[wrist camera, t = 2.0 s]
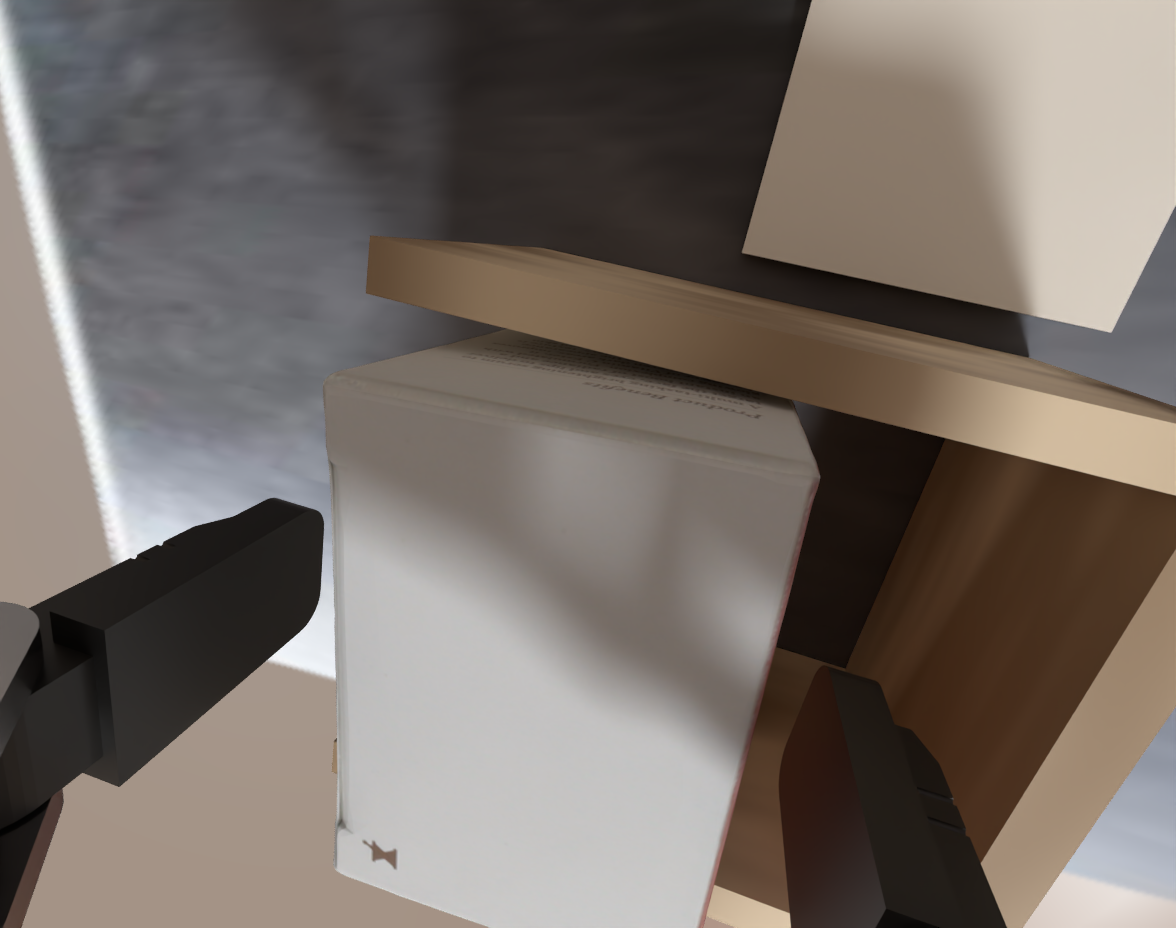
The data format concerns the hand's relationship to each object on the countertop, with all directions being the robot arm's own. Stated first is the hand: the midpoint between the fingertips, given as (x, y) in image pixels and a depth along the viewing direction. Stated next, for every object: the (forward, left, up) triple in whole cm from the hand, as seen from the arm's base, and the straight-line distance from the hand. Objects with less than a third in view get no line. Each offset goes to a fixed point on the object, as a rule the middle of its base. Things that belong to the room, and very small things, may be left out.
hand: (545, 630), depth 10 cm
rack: (-2, 0, -8) cm, 9 cm away
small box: (0, 0, -9) cm, 9 cm away
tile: (-5, -10, -8) cm, 14 cm away
